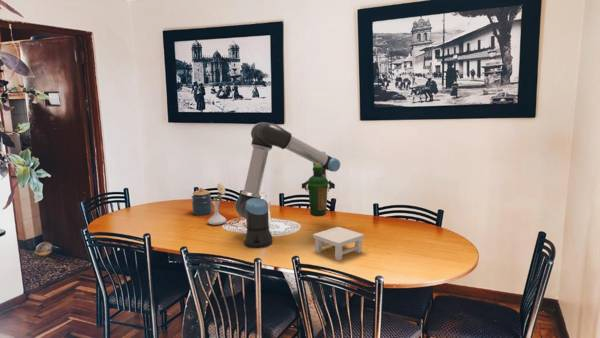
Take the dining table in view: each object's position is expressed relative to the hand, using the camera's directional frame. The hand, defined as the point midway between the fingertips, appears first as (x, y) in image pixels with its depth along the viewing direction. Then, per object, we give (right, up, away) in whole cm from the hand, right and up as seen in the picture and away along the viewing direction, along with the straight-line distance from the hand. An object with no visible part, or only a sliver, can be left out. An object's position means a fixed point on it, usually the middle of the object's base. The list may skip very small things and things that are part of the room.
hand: (317, 189), depth 223 cm
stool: (+10, -31, -11) cm, 34 cm away
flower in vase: (-60, -23, +42) cm, 77 cm away
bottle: (+1, -14, +7) cm, 16 cm away
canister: (-76, -20, +65) cm, 102 cm away
